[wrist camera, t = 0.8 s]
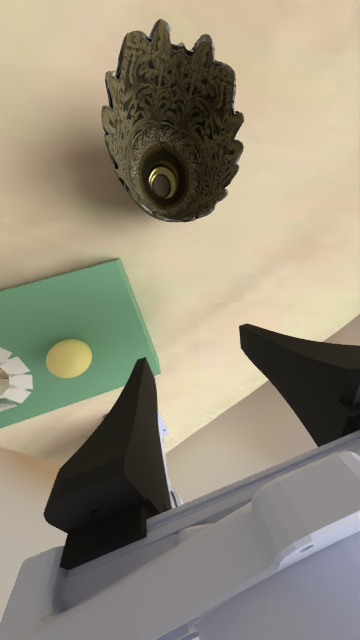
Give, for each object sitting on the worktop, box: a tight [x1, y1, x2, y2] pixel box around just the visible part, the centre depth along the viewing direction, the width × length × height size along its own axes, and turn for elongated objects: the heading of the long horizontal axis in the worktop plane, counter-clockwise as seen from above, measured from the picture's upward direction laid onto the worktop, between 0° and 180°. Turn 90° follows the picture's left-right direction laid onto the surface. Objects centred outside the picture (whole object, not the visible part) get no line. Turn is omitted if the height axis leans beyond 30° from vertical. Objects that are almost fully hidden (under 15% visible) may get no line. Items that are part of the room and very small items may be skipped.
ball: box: [46, 339, 92, 378], centre depth 16 cm, size 4×4×4 cm
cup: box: [102, 19, 244, 222], centre depth 12 cm, size 8×7×8 cm
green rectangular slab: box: [0, 258, 161, 428], centre depth 18 cm, size 14×22×3 cm, turn 104°
